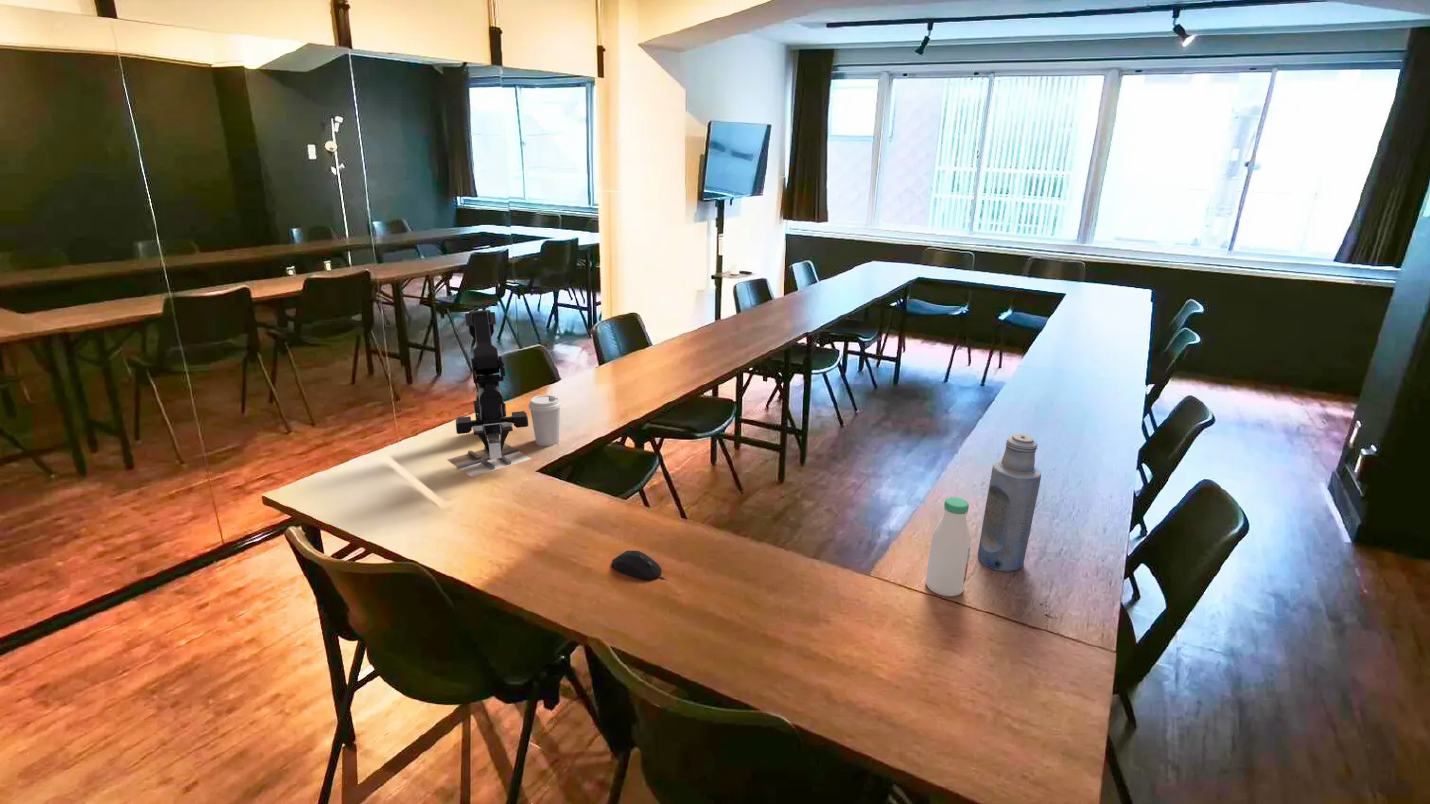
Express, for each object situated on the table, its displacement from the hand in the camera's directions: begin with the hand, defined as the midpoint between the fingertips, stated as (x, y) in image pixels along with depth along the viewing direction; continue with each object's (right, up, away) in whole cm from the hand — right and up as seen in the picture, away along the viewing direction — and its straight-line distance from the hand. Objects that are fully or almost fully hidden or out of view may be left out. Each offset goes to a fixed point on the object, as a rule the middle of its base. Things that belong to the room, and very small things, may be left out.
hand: (494, 450), depth 198 cm
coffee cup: (+11, 0, +17) cm, 20 cm away
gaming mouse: (+45, -23, -45) cm, 68 cm away
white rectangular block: (0, -1, 0) cm, 1 cm away
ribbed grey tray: (-3, -4, +5) cm, 7 cm away
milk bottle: (+109, -25, -48) cm, 122 cm away
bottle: (+125, -22, -39) cm, 133 cm away
